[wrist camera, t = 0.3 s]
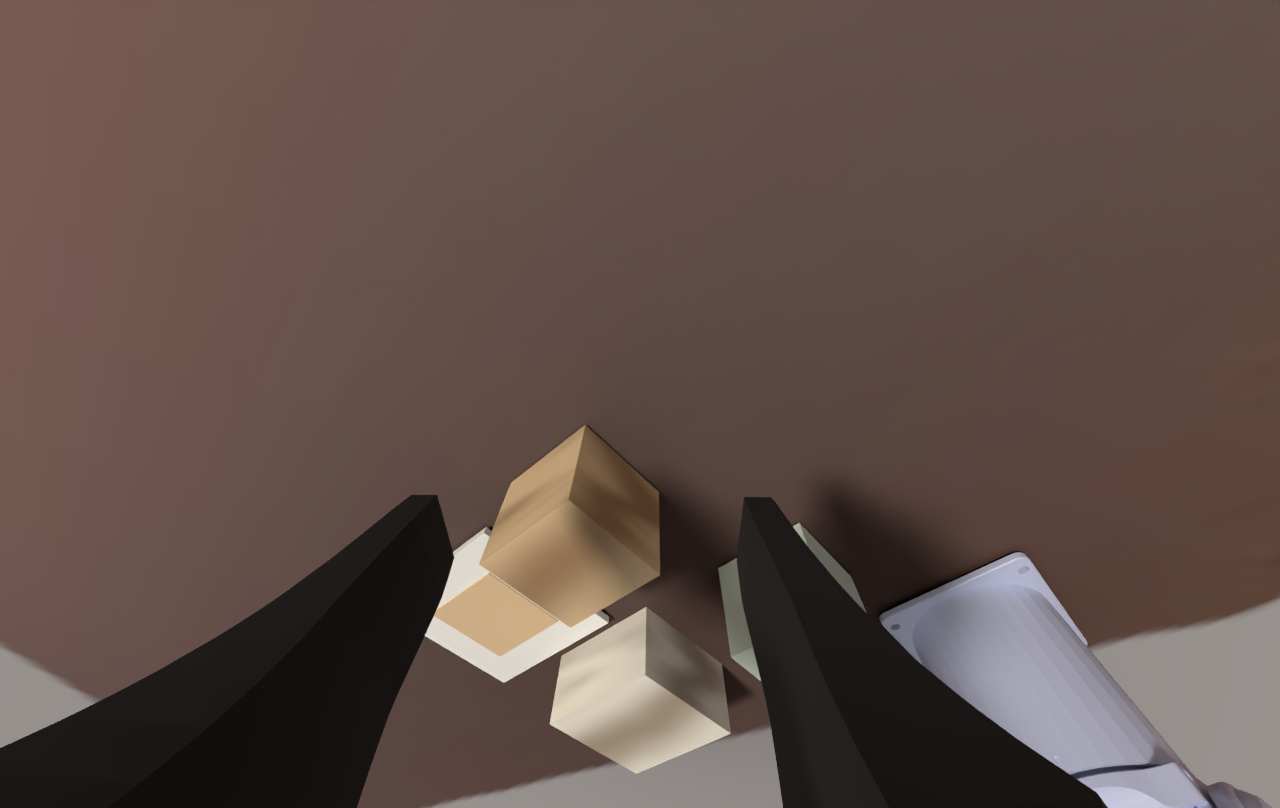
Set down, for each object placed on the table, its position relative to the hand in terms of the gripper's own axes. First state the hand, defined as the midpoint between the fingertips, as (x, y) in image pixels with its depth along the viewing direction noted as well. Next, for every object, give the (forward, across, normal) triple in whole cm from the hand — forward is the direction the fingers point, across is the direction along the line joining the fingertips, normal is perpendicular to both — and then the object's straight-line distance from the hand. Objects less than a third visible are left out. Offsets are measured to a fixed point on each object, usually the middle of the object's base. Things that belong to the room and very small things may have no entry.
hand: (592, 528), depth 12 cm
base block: (+10, -1, +20) cm, 23 cm away
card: (+10, +7, +16) cm, 20 cm away
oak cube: (+10, +2, +7) cm, 12 cm away
